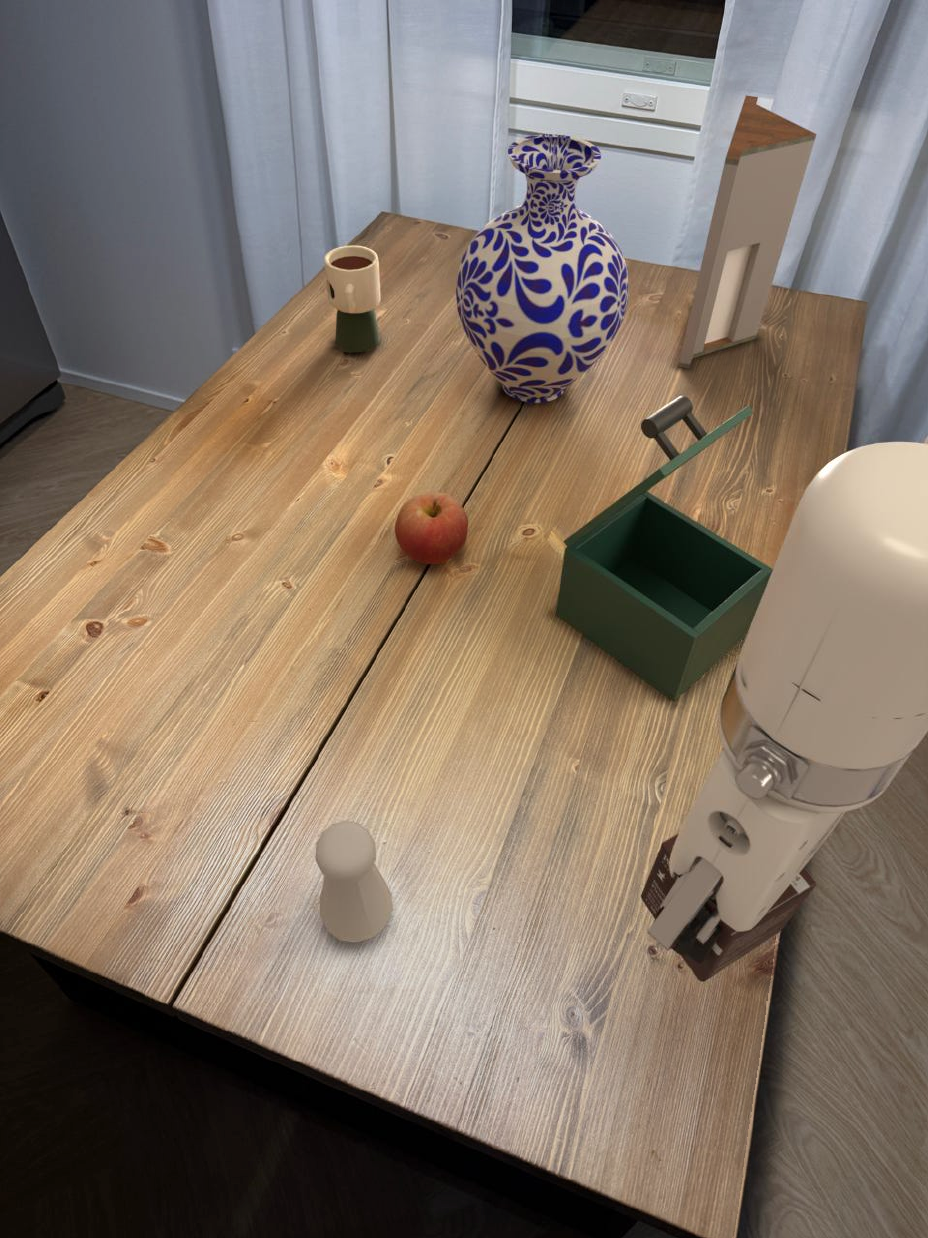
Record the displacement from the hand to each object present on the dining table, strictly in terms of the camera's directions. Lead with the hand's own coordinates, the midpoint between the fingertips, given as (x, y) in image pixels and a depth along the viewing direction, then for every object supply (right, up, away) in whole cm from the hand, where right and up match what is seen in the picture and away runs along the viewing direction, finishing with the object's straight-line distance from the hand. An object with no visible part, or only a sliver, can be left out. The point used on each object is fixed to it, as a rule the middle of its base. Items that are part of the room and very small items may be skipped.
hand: (720, 892), depth 51 cm
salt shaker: (-23, -9, +22) cm, 33 cm away
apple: (-18, +23, +49) cm, 57 cm away
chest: (+5, +15, +43) cm, 46 cm away
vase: (-5, +48, +71) cm, 86 cm away
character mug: (-30, +55, +76) cm, 98 cm away
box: (0, -2, +3) cm, 3 cm away
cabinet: (+23, +57, +80) cm, 101 cm away
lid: (+3, +28, +31) cm, 42 cm away
